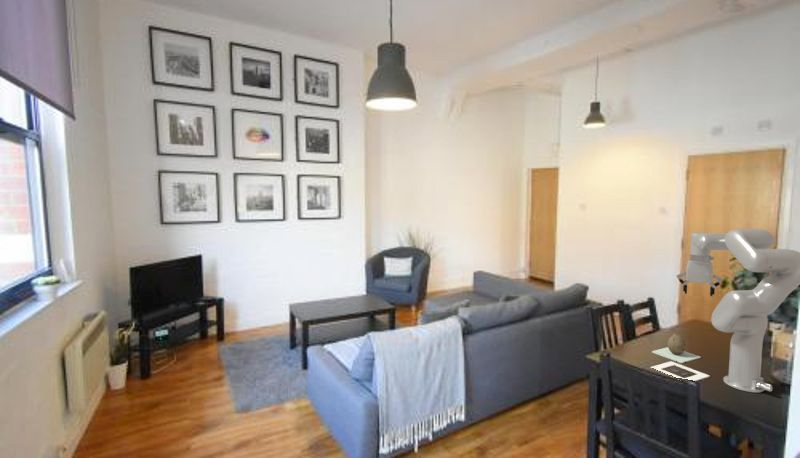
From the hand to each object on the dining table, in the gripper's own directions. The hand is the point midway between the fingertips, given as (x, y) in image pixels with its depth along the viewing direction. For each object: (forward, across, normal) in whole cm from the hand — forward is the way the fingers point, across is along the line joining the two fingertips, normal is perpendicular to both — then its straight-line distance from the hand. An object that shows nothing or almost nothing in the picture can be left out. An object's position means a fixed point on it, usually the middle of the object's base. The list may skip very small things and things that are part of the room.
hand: (698, 294), depth 185 cm
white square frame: (+30, +6, +26) cm, 40 cm away
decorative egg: (+29, +8, +5) cm, 31 cm away
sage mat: (+30, +8, +5) cm, 31 cm away
